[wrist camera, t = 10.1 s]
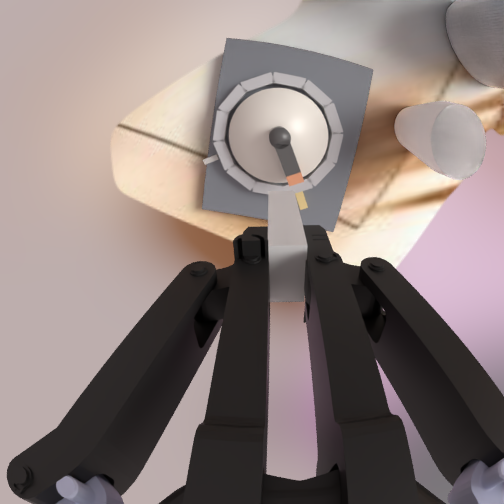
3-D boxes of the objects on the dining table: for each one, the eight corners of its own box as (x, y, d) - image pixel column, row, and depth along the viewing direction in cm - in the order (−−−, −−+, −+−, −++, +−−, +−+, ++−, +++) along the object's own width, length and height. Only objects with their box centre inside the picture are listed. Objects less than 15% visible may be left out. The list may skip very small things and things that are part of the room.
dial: (216, 108, 32) (208, 109, 28) (306, 77, 30) (312, 72, 25) (251, 191, 37) (249, 203, 33) (336, 162, 35) (346, 171, 30)
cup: (395, 88, 30) (441, 87, 20) (443, 114, 31) (494, 125, 20) (378, 145, 35) (419, 164, 24) (427, 166, 35) (473, 192, 25)
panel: (224, 40, 29) (220, 35, 26) (369, 70, 30) (377, 68, 27) (200, 204, 41) (196, 212, 38) (331, 227, 41) (335, 236, 39)
